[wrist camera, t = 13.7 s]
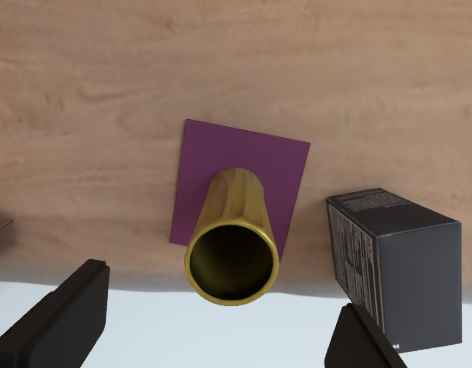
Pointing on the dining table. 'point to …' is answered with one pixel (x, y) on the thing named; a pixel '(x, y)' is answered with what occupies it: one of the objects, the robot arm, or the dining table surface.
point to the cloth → (237, 156)
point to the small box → (399, 266)
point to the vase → (232, 242)
